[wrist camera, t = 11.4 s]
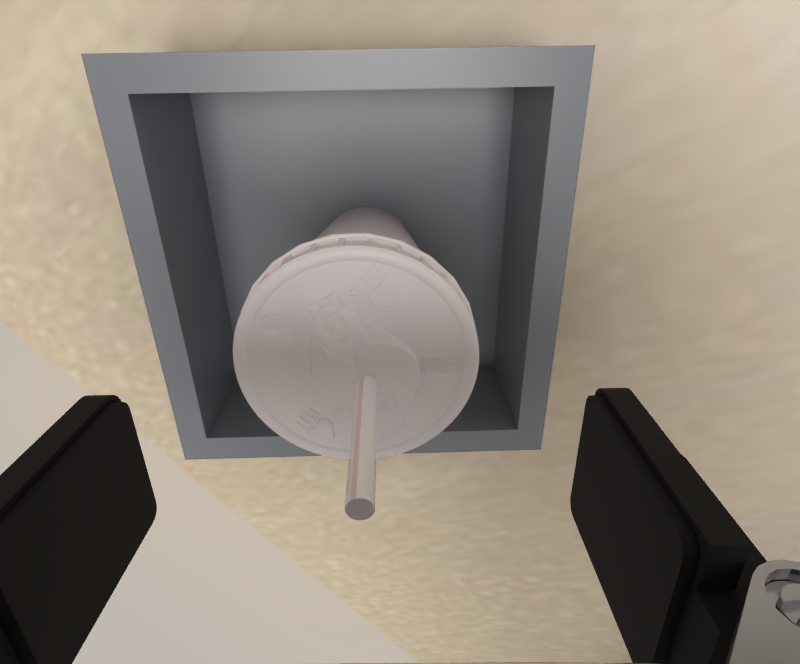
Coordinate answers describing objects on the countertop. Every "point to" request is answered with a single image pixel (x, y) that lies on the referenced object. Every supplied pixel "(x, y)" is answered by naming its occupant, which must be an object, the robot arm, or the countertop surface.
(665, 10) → the countertop surface
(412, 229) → the box
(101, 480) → the robot arm
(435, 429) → the smoothie
